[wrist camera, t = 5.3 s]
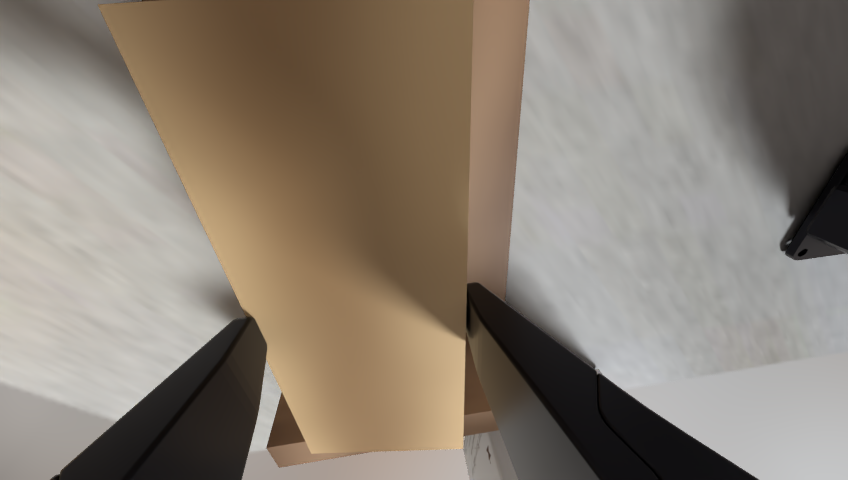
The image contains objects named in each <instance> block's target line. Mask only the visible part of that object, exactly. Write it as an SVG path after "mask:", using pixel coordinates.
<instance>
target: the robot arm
mask: <svg viewBox="0 0 848 480" xmlns="http://www.w3.org/2000/svg"><path fill="white" fill-rule="evenodd" d="M845 253H846V254H848V153H847V154H846V156H845V158H844V159H843V161H842V162H841V164H840V166H839V167H838V169H837V170H836V172H835V174H834V175H833V177H832V178H831V180H830V181H829V183H828V185H827V186H826V188H825V189H824V191H823V193H822V194H821V196H820V197H819V199H818V201H817V202H816V204H815V205H814V207H813V209H812V210H811V212H810V213H809V215H808V217H807V218H806V220H805V221H804V223H803V224H802V226H801V228H800V229H799V231H798V232H797V234H796V236H795V237H794V239H793V240H792V242H791V244H790V245H789V247H788V248H787V250H786V252H785V254H786V256H788V257H790V258H792V259H794V260H803V259H810V258H817V257H824V256H831V255H838V254H845ZM466 333H467V337H468V341H469V344H470V348H471V352H472V356H473V360H474V364H475V367H476V371H477V374H478V377H479V380H480V382H481V385H482V388H483V390H484V393H485V395H486V398H487V401H488V403H489V406H490V408H491V411H492V413H493V416H494V419H495V421H496V424H497V426H498V429H499V431H500V434H501V437H502V439H503V442H504V444H505V447H506V449H507V452H508V455H509V457H510V460H511V462H512V465H513V468H514V470H515V473H516V475H517V478H518V480H758V479H757V478H755V477H754V476H752V475H751V474H749V473H748V472H746V471H745V470H743V469H741V468H740V467H738V466H737V465H735V464H734V463H732V462H731V461H729V460H727V459H726V458H724V457H723V456H721V455H720V454H718V453H716V452H715V451H713V450H712V449H710V448H709V447H707V446H705V445H704V444H702V443H701V442H699V441H698V440H696V439H694V438H693V437H691V436H690V435H688V434H686V433H685V432H684V431H682V430H680V429H679V428H677V427H676V426H674V425H673V424H671V423H670V422H668V421H667V420H665V419H664V418H662V417H661V416H659V415H658V414H656V413H655V412H653V411H652V410H650V409H649V408H647V407H646V406H644V405H643V404H642V403H640V402H639V401H637V400H636V399H635V398H633V397H632V396H630V395H629V394H628V393H626V392H625V391H624V390H622V389H621V388H619V387H618V386H617V385H615V384H614V383H613V382H611V381H610V380H609V379H607V378H606V377H605V376H603V375H602V374H600V373H598V374H597V371H596V370H595V369H594V368H592V367H591V366H590V365H588V364H587V363H586V362H584V361H583V360H582V359H580V358H579V357H578V356H576V355H575V354H574V353H572V352H571V351H570V350H568V349H567V348H566V347H564V346H563V345H562V344H560V343H559V342H558V341H556V340H555V339H554V338H552V337H551V336H550V335H548V334H547V333H546V332H544V331H543V330H542V329H540V328H539V327H538V326H536V325H535V324H534V323H532V322H531V321H530V320H528V319H527V318H526V317H524V316H523V315H522V314H520V313H519V312H518V311H516V310H515V309H513V308H512V307H511V306H509V305H508V304H507V303H505V302H504V301H503V300H501V299H500V298H499V297H497V296H496V295H495V294H493V293H492V292H491V291H489V290H488V289H487V288H485V287H484V286H483V285H481V284H480V283H478V282H472V283H467V303H466ZM266 355H267V343H266V341H265V339H264V337H263V335H262V332H261V330H260V328H259V326H258V324H257V322H256V320H255V319H254V318H253V317H245V318H239V319H235V320H233V321H232V322H231V323H229V324H228V325H227V326H226V327H225V328H224V329H223V330H221V331H220V332H219V333H218V334H217V335H216V336H214V337H213V338H212V339H211V340H210V341H209V342H208V343H206V344H205V345H204V346H203V347H202V348H201V349H200V350H198V351H197V352H196V353H195V354H194V355H193V356H192V357H190V358H189V359H188V360H187V361H186V362H185V363H184V364H182V365H181V366H180V367H179V368H178V369H177V370H176V371H174V372H173V373H172V374H171V375H170V376H169V377H167V378H166V379H165V380H164V381H163V382H162V383H161V384H159V385H158V386H157V387H156V388H155V389H154V390H153V391H151V392H150V393H149V394H148V395H147V396H146V397H145V398H143V399H142V400H141V401H140V402H139V403H138V404H137V405H135V406H134V407H133V408H132V409H131V410H130V411H129V412H127V413H126V414H125V415H124V416H123V417H122V418H120V419H119V420H118V421H117V422H116V423H115V424H114V425H112V426H111V427H110V428H109V429H108V430H107V431H106V432H104V433H103V434H102V435H101V436H100V437H99V438H98V439H96V440H95V441H94V442H93V443H92V444H91V445H90V446H88V447H87V448H86V449H85V450H84V451H83V452H81V453H80V454H79V455H78V456H77V457H76V458H75V459H74V460H72V461H71V462H70V463H69V464H68V465H67V466H65V467H64V468H63V469H62V470H61V472H60V474H58V475H55V476H54V477H53V478H52V479H50V480H242V476H243V472H244V468H245V464H246V460H247V456H248V452H249V449H250V445H251V441H252V437H253V433H254V429H255V425H256V420H257V416H258V411H259V405H260V399H261V391H262V384H263V377H264V370H265V363H266Z"/></svg>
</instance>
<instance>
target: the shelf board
mask: <svg viewBox="0 0 848 480" xmlns="http://www.w3.org/2000/svg"><path fill="white" fill-rule="evenodd" d="M98 7H99V9H100V11H101V13H102V15H103V17H104V19H105V22H106V24H107V26H108V28H109V30H110V32H111V34H112V36H113V38H114V40H115V43H116V45H117V47H118V49H119V51H120V53H121V55H122V57H123V59H124V61H125V64H126V66H127V68H128V70H129V72H130V74H131V76H132V78H133V80H134V82H135V85H136V87H137V89H138V91H139V93H140V95H141V97H142V99H143V101H144V103H145V106H146V108H147V110H148V112H149V114H150V116H151V118H152V120H153V122H154V124H155V127H156V129H157V131H158V133H159V135H160V137H161V139H162V141H163V143H164V145H165V148H166V150H167V152H168V154H169V156H170V158H171V160H172V162H173V164H174V166H175V169H176V171H177V173H178V175H179V177H180V179H181V181H182V183H183V185H184V187H185V190H186V192H187V194H188V196H189V198H190V200H191V202H192V204H193V206H194V208H195V211H196V213H197V215H198V217H199V219H200V221H201V223H202V225H203V227H204V229H205V232H206V234H207V236H208V238H209V240H210V242H211V244H212V246H213V248H214V250H215V253H216V255H217V257H218V259H219V261H220V263H221V265H222V267H223V269H224V271H225V273H226V276H227V278H228V280H229V282H230V284H231V286H232V288H233V290H234V292H235V294H236V297H237V299H238V301H239V303H240V305H241V307H242V309H243V311H244V313H245V315H246V317H253V318H254V319H255V320H256V322H257V324H258V326H259V328H260V330H261V332H262V335H263V337H264V339H265V341H266V343H267V355H266V360H267V362H268V364H269V366H270V368H271V370H272V372H273V374H274V376H275V378H276V381H277V383H278V385H279V387H280V389H281V391H282V393H283V395H284V397H285V399H286V402H287V404H288V406H289V408H290V410H291V412H292V414H293V416H294V418H295V420H296V423H297V425H298V427H299V429H300V431H301V433H302V435H303V437H304V439H305V441H306V444H307V446H308V448H309V450H310V452H311V454H317V453H347V452H378V451H408V450H438V449H463V433H464V390H465V346H466V303H467V260H468V216H469V173H470V129H471V86H472V43H473V0H159V1H144V2H129V3H114V4H98Z"/></svg>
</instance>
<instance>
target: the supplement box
mask: <svg viewBox="0 0 848 480" xmlns="http://www.w3.org/2000/svg"><path fill="white" fill-rule="evenodd" d="M595 370H596V371H597V374H598V373H600V374H602V373H601V372H600V370H599V369H595ZM463 450H464V455H465V459H466V464H467V469H468V474H469V479H470V480H518V478H517V475H516V473H515V470H514V468H513V465H512V462H511V460H510V457H509V455H508V452H507V449H506V447H505V444H504V442H503V439H502V437H501V434H500V431H499V430H497V431H492V432H486V433H480V434H474V435H468V436H465V441H464V448H463Z"/></svg>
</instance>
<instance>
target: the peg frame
mask: <svg viewBox="0 0 848 480" xmlns="http://www.w3.org/2000/svg"><path fill="white" fill-rule="evenodd" d="M144 1H159V0H142V2H144ZM529 1H530V0H473V43H472V86H471V129H470V173H469V216H468V260H467V283H472V282H478V283H480V284H481V285H483V286H484V287H485V288H487V289H488V290H489V291H491V292H492V293H493V294H495V295H496V296H497V297H499V298H500V299H501V300H503V301H504V302H505V295H506V282H507V270H508V258H509V246H510V234H511V221H512V209H513V197H514V185H515V172H516V160H517V148H518V136H519V124H520V111H521V99H522V87H523V75H524V62H525V50H526V38H527V26H528V14H529ZM497 430H499V429H498V426H497V424H496V421H495V419H494V416H493V413H492V411H491V408H490V406H489V403H488V401H487V398H486V395H485V393H484V390H483V388H482V385H481V382H480V380H479V377H478V374H477V371H476V367H475V364H474V360H473V356H472V352H471V348H470V344H469V341H468V337H467V333H466V346H465V390H464V433H463V436H468V435H474V434H480V433H486V432H492V431H497ZM267 450H268V451H269V453H270V454H271V456H272V457H273V459H274V460H275V462H276V463H277V465H278V467H286V466H291V465H297V464H303V463H309V462H315V461H321V460H326V459H333V458H339V457H344V456H350V455H356V454H362V453H368V452H347V453H317V454H311V452H310V450H309V448H308V446H307V444H306V441H305V439H304V437H303V435H302V433H301V431H300V429H299V427H298V425H297V423H296V420H295V418H294V416H293V414H292V412H291V410H290V408H289V406H288V404H287V402H286V399H285V397H284V395H283V393H281V397H280V400H279V404H278V408H277V411H276V415H275V419H274V422H273V426H272V430H271V433H270V437H269V441H268V444H267Z"/></svg>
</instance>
